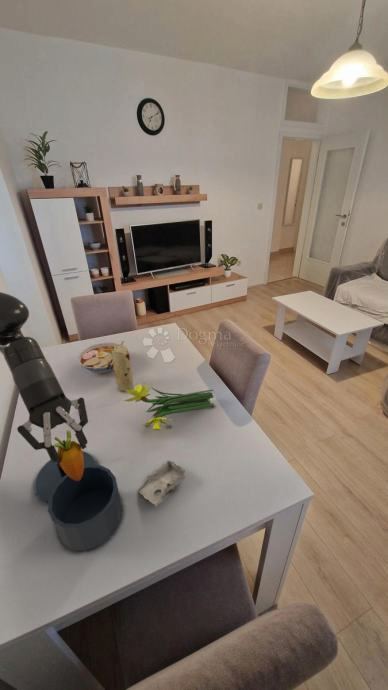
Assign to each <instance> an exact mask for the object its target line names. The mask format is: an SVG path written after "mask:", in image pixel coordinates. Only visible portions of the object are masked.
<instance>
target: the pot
mask: <svg viewBox="0 0 388 690" xmlns="http://www.w3.org/2000/svg"><path fill="white" fill-rule="evenodd" d="M47 502H48V501H47ZM47 512H48V515H49V517H50V519H51V521H52V523H53V525H54V528H55V530H56V533H57V534H58V536H59V539H60V540H61V542H62V544H63V545H64V546H65V547H66V548H68V549H70V550H72V551H74V552H75V551H76V552H85V551H90V550H94V549H96V548H98V547H99V546H101V545H103V544H104V543H106V542H107V541H108V540H109V539H110V538H111V537H112V536H113V535H114V533H115V532H116V530H117V528H118V527H119V524H120V522H121V519H122V513H123V506H122V500H121V495H120V492H119V487H118V482H117V478H116V476H115V474H114V473H113V472H112V471H111V469H110V468H107V467H105V466H103V465H100V464H96V465H87V466H84V470H83V476H82V478H81V480H80V481H75V480H73V479H72V478H70V477H69V476H68V475H65V476H64V477H63V478H62V479H61V480H60V481H59V482H58V483H57V484H56V485H55V487H54V489H53V491H52V493H51V495H50V497H49V502H48V503H47Z"/></svg>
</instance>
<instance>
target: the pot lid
mask: <svg viewBox="0 0 388 690" xmlns="http://www.w3.org/2000/svg"><path fill="white" fill-rule="evenodd" d="M82 453H83V457H84V466H87V465H97V464H96V461H95V459H94V457H93V456H92V455H91V454H90V453H88V452H86V451H83V450H82ZM65 475H67V474H66V473H65V472H64V470H63V469H62V467H61V465H60V463H58V464H57V462H52V461H51V459H50V460H49V461H47V462H46V463H45V464H44V465H43V466H42V468H41V469H40V471H39V472H38V474H37V475H36V478H35V482H34V489H35V492H36V494H37V496H38V497H39V498H40V499H41V500H43V501H44V502H49V497H50V495H51V493H52V491H53V489H54V487H55V485H56V484H57V483H58V482H59V481H60V480H61V479H62V478H63V477H64V476H65Z"/></svg>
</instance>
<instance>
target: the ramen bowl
mask: <svg viewBox="0 0 388 690" xmlns="http://www.w3.org/2000/svg"><path fill="white" fill-rule="evenodd" d="M124 342H125V340H122V341H121V343H119V342H112V341H108V342H99V343H95V344H91V345H89V346H87V347H86V348H84V349H83V350H81V351H80V352H79V353H78V355H77V358H76V360H77V362H78V364H79V365H80V367H82V368H84V369H86V370H88V371H89V372H92V373H98V374H101V373H102V374H103V373H108V372H112V371H114V366H113V359H112V351H114V346H115V345H117V344H120V345H124Z"/></svg>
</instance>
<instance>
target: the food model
mask: <svg viewBox="0 0 388 690" xmlns="http://www.w3.org/2000/svg"><path fill="white" fill-rule="evenodd" d="M120 344H121V343H119V344H117V345H115V346H114V351H112V359H113V366H114V370H113V372H114V377H115V381H116V386H117V388H118V389H119V390H120V391H122V392H127V391H126V390H125V389H128V390H133V386H134V377H133V368H132V362H131V358H130V352H129V349H128V348H127V347H126V345H124V344H123V345H120Z"/></svg>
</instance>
